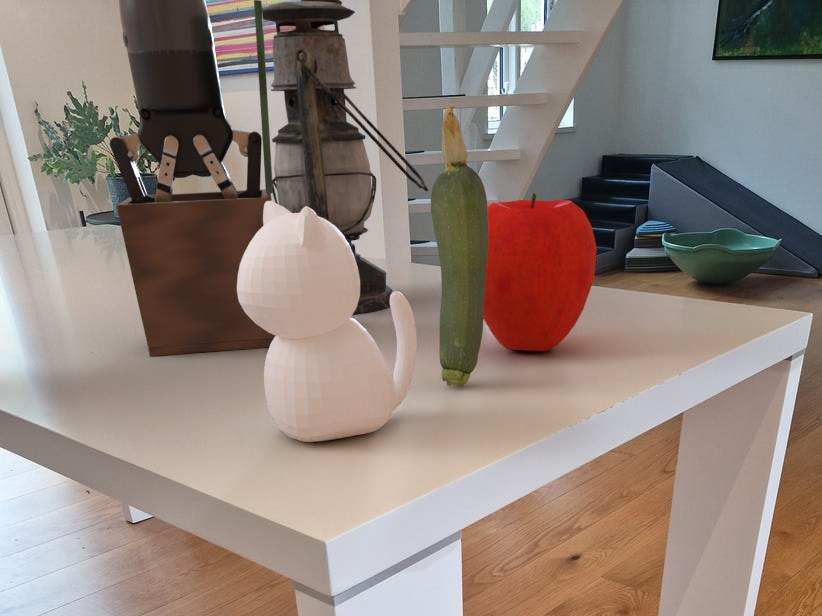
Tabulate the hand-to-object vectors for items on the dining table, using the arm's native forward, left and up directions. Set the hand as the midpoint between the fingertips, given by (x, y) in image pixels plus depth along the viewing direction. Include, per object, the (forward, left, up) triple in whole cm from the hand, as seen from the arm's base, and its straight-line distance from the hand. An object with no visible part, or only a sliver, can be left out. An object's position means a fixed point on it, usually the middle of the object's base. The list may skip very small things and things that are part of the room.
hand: (207, 253), depth 86 cm
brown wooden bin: (0, 0, -8) cm, 8 cm away
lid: (+7, 0, +13) cm, 15 cm away
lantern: (+15, +15, -8) cm, 23 cm away
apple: (+29, -15, -8) cm, 34 cm away
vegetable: (+21, -25, -8) cm, 34 cm away
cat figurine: (+10, -33, -8) cm, 36 cm away
